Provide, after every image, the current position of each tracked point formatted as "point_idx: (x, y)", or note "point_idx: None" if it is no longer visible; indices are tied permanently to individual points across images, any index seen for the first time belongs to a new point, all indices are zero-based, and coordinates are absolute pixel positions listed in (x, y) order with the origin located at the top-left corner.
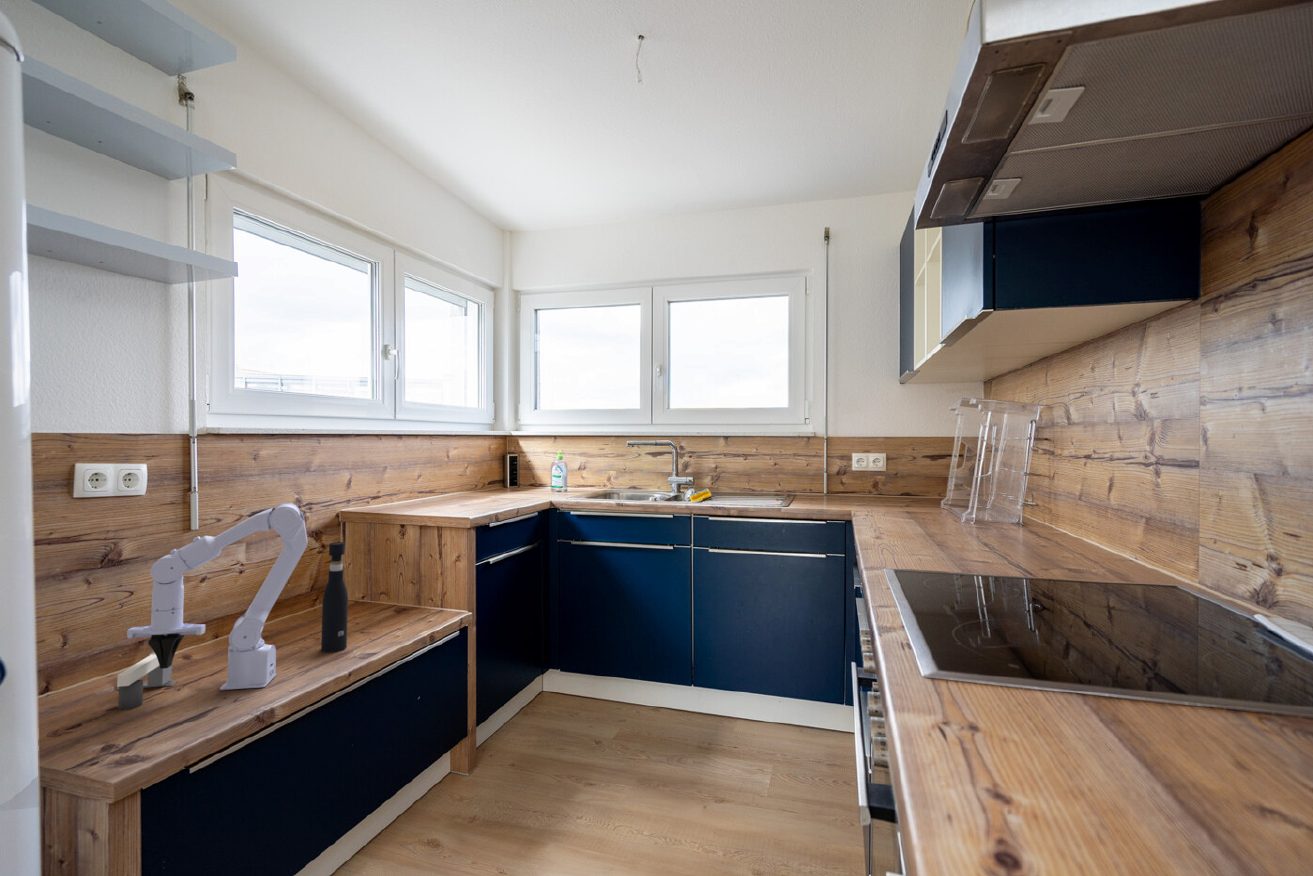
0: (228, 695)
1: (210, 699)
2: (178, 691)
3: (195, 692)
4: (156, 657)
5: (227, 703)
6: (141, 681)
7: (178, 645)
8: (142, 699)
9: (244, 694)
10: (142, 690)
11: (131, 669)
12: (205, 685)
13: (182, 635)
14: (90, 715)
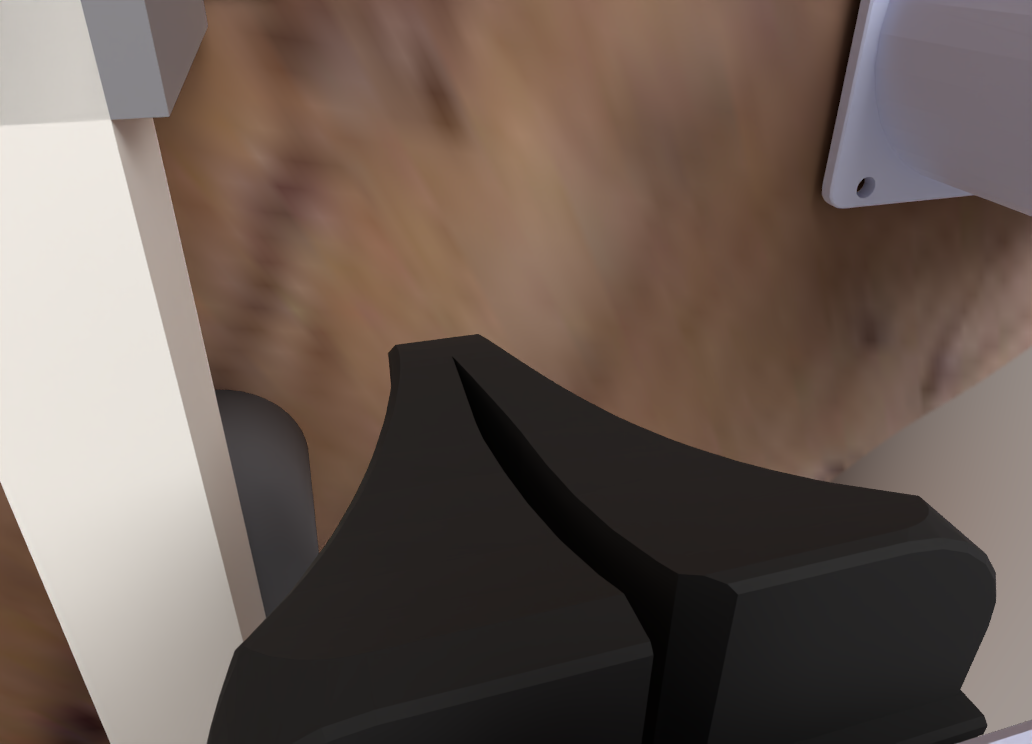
0: (885, 293)
1: (783, 357)
2: (462, 161)
3: (631, 206)
4: (155, 293)
5: (892, 421)
6: (293, 573)
7: (688, 454)
8: (300, 448)
9: (979, 283)
10: (310, 515)
11: None
12: (662, 18)
13: (954, 691)
14: (16, 617)
